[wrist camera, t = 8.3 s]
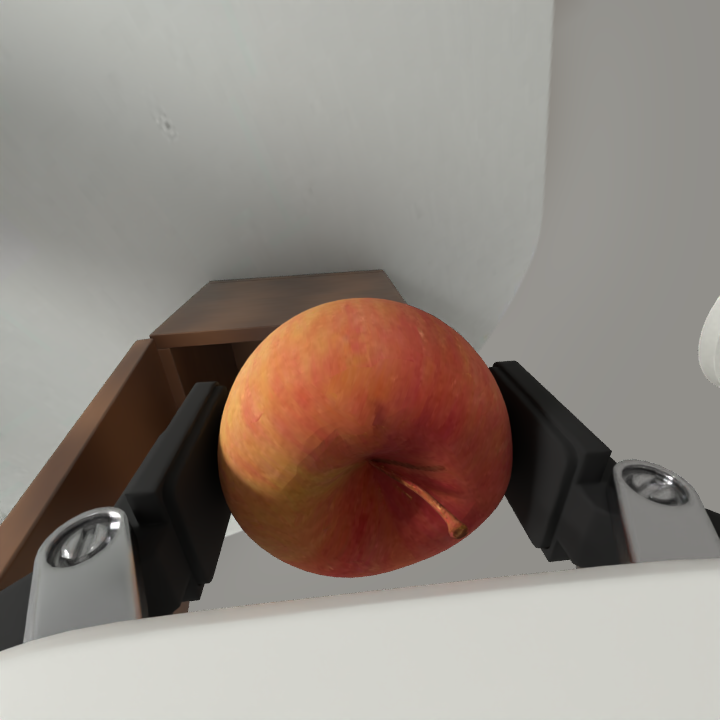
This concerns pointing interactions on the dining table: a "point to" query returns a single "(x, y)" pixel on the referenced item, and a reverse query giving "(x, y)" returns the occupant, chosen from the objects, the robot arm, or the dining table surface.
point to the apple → (363, 439)
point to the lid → (92, 459)
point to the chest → (247, 321)
